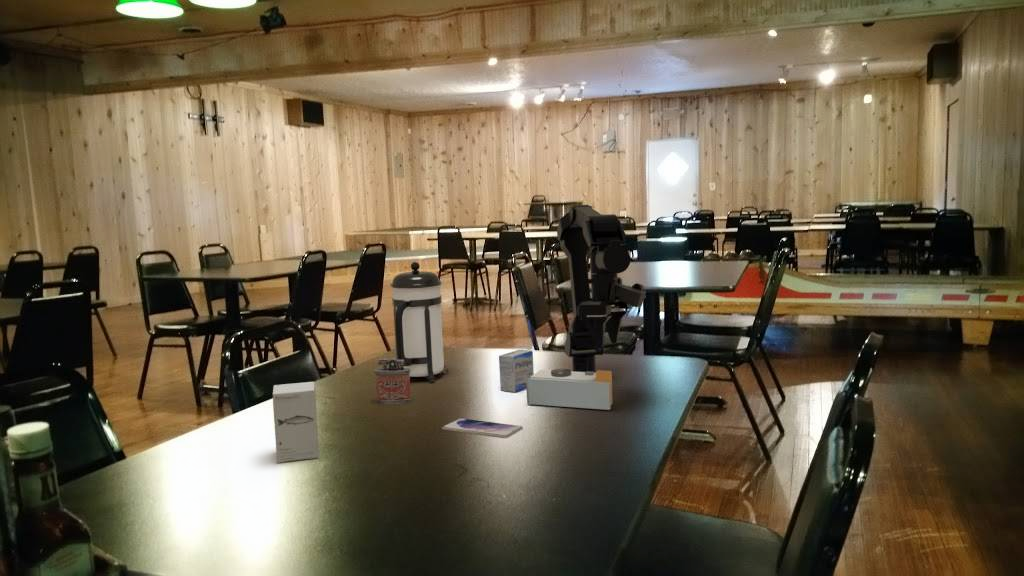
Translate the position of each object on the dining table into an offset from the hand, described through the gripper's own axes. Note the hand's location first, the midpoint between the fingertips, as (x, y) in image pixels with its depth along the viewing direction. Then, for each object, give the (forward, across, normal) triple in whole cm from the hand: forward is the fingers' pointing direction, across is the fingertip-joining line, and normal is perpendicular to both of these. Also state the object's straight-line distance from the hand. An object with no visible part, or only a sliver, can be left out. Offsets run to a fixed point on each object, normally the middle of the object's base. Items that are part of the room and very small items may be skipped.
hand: (607, 345), depth 156 cm
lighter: (+11, -14, +47) cm, 50 cm away
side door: (+12, -5, +8) cm, 15 cm away
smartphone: (+14, -25, +18) cm, 34 cm away
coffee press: (+10, +7, +53) cm, 54 cm away
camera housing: (+12, -2, +10) cm, 15 cm away
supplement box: (+14, -49, +43) cm, 67 cm away
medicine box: (+11, +6, +25) cm, 28 cm away
